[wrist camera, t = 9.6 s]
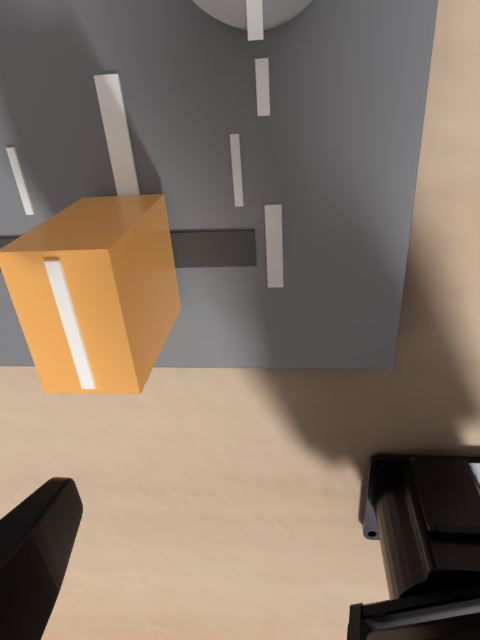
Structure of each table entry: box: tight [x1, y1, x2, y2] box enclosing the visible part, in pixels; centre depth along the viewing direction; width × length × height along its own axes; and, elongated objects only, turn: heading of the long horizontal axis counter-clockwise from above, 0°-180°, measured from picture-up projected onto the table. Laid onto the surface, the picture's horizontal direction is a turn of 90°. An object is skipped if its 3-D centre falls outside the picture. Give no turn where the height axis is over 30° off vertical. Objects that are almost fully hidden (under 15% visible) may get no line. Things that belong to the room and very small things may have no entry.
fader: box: [0, 194, 181, 394], centre depth 15 cm, size 4×3×6 cm, turn 4°
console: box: [0, 0, 438, 369], centre depth 16 cm, size 18×26×4 cm
